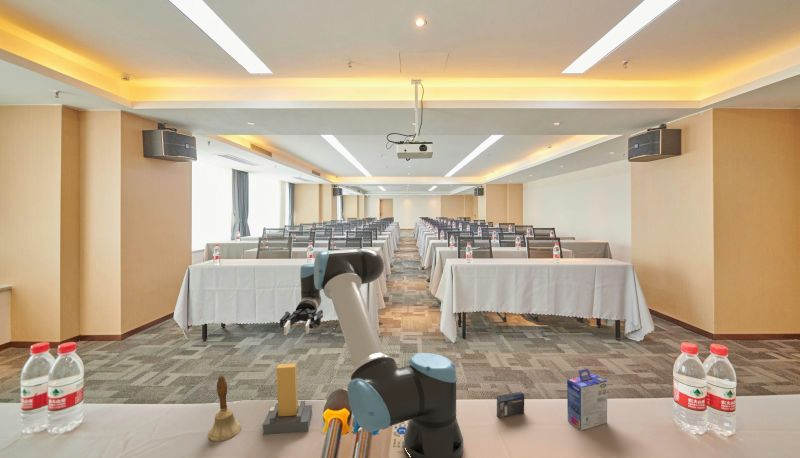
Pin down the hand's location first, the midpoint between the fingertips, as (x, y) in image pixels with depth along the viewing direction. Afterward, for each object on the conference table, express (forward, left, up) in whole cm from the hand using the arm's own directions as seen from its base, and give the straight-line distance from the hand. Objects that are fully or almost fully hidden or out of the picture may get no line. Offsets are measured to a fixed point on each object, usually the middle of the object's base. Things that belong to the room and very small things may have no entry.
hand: (295, 330), depth 115 cm
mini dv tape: (-64, +18, -22) cm, 70 cm away
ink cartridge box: (-84, +24, -22) cm, 90 cm away
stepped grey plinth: (0, +15, -22) cm, 27 cm away
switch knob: (0, +15, -19) cm, 24 cm away
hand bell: (+17, +16, -22) cm, 32 cm away
